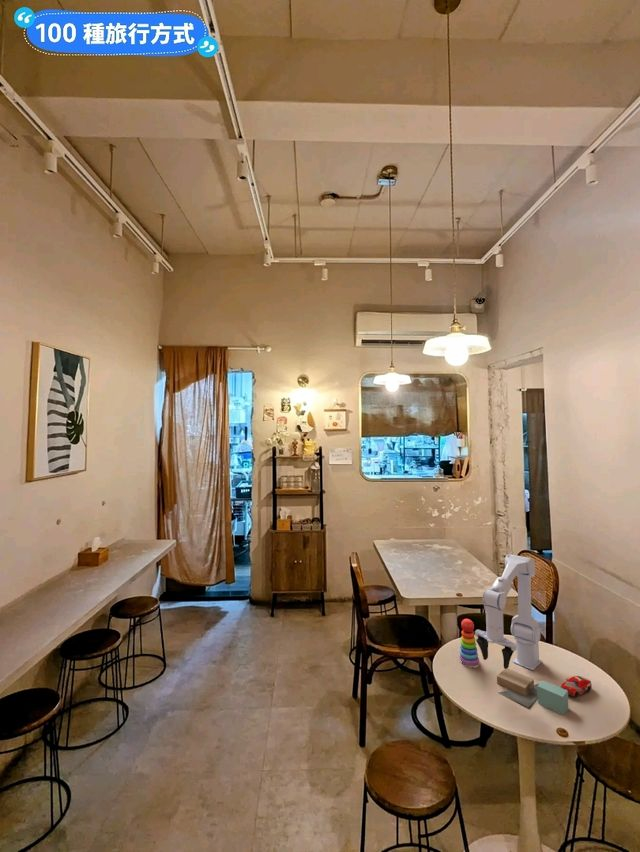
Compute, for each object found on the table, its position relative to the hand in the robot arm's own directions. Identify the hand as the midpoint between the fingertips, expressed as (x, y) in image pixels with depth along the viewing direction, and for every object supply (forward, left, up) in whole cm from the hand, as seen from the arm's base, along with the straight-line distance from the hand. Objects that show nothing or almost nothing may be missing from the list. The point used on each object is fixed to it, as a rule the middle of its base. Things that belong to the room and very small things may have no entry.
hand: (495, 663), depth 143 cm
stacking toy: (-10, -16, -12) cm, 22 cm away
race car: (-20, +19, -13) cm, 30 cm away
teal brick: (-9, +16, -11) cm, 21 cm away
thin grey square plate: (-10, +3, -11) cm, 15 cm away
